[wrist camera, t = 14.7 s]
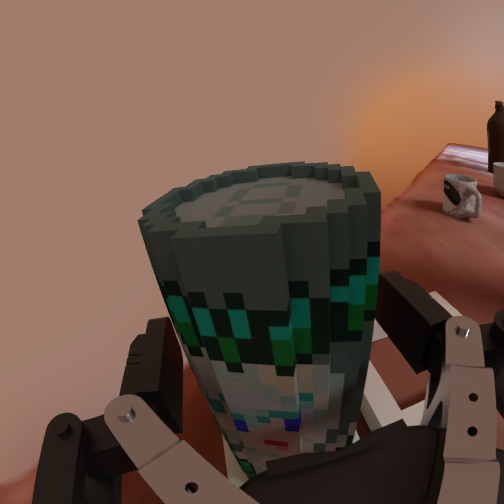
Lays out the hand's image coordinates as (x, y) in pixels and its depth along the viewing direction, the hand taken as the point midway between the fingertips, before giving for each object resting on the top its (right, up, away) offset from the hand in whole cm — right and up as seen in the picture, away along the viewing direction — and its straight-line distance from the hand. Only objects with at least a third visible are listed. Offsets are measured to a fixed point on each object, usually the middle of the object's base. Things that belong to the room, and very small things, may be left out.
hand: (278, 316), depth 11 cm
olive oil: (+83, +29, +62) cm, 108 cm away
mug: (+37, +9, +34) cm, 51 cm away
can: (+1, -9, +4) cm, 10 cm away
